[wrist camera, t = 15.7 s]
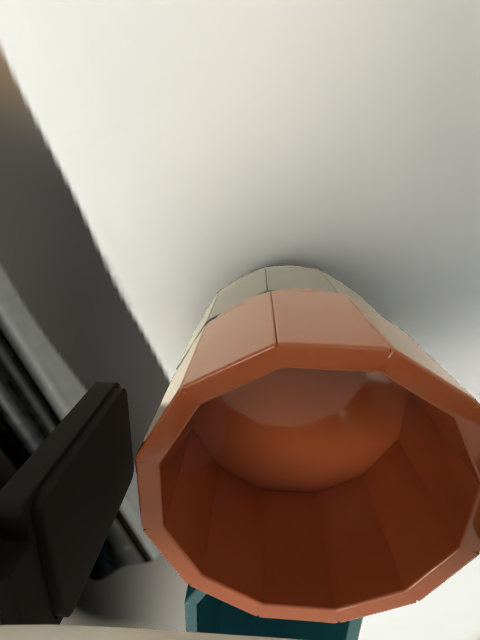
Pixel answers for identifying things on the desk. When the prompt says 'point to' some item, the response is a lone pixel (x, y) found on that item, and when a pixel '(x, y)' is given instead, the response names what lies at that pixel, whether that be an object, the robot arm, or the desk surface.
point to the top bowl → (257, 622)
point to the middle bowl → (312, 462)
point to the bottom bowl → (270, 289)
